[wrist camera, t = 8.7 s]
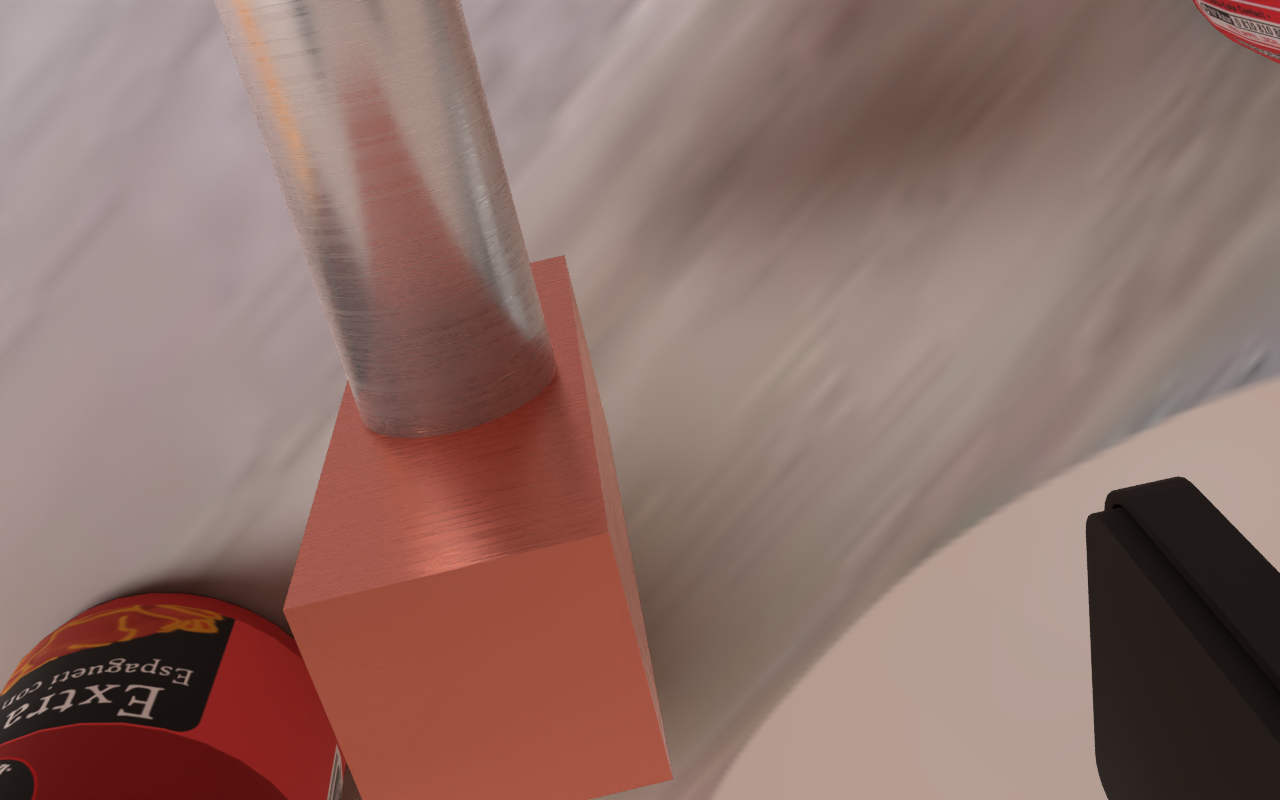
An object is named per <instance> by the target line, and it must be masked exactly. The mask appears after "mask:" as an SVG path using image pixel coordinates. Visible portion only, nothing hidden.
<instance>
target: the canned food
mask: <svg viewBox="0 0 1280 800" xmlns="http://www.w3.org/2000/svg"><path fill="white" fill-rule="evenodd" d="M345 767H346V760H345V757H344V755H343V753H342V750H341V748H340V745H339V743H338V741H337V738H336V736H335V734H334V731H333V729H332V726H331V724H330V722H329V719H328V717H327V714H326V712H325V710H324V707H323V705H322V703H321V700H320V698H319V695H318V693H317V691H316V688H315V686H314V683H313V681H312V679H311V676H310V674H309V672H308V669H307V667H306V664H305V662H304V660H303V657H302V655H301V652H300V650H299V648H298V645H297V643H296V641H295V639H293V638H292V637H291V636H289V635H288V634H287V633H286V632H284V631H283V630H282V629H280V628H279V627H278V626H277V625H275V624H274V623H272V622H270V621H268V620H266V619H264V618H262V617H260V616H259V615H257V614H255V613H253V612H251V611H249V610H247V609H245V608H242V607H239V606H236V605H233V604H230V603H227V602H224V601H221V600H218V599H214V598H208V597H202V596H196V595H190V594H184V593H148V594H142V595H136V596H130V597H124V598H118V599H115V600H112V601H110V602H107V603H104V604H101V605H98V606H96V607H93V608H90V609H88V610H86V611H85V612H83V613H81V614H80V615H78V616H76V617H75V618H73V619H72V620H70V621H68V622H67V623H65V624H63V625H62V626H61V627H59V628H58V629H56V630H55V631H54V632H52V633H51V634H49V635H48V636H47V637H45V638H44V639H43V640H42V641H41V642H40V643H39V644H38V645H36V646H35V647H34V648H33V649H32V650H31V651H30V652H29V653H28V654H27V655H26V656H25V657H24V658H23V659H22V660H21V662H20V663H19V665H18V666H17V668H16V670H15V671H14V673H13V674H12V676H11V678H10V679H9V681H8V682H7V684H6V686H5V687H4V689H3V691H2V692H1V694H0V800H340V799H341V792H342V786H343V780H344V774H345Z"/></svg>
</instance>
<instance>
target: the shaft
mask: <svg viewBox="0 0 1280 800" xmlns="http://www.w3.org/2000/svg"><path fill="white" fill-rule="evenodd" d="M214 2H215V5H216V7H217V10H218V13H219V16H220V19H221V22H222V24H223V27H224V30H225V33H226V36H227V39H228V41H229V44H230V47H231V50H232V53H233V56H234V58H235V61H236V64H237V67H238V70H239V73H240V76H241V78H242V81H243V84H244V87H245V90H246V93H247V95H248V98H249V101H250V104H251V107H252V110H253V112H254V115H255V118H256V121H257V124H258V127H259V129H260V132H261V135H262V138H263V141H264V144H265V146H266V149H267V152H268V155H269V158H270V161H271V163H272V166H273V169H274V172H275V175H276V178H277V180H278V183H279V186H280V189H281V192H282V195H283V197H284V200H285V203H286V206H287V209H288V212H289V214H290V217H291V220H292V223H293V226H294V229H295V231H296V234H297V237H298V240H299V243H300V246H301V248H302V251H303V254H304V257H305V260H306V263H307V265H308V268H309V271H310V274H311V277H312V280H313V282H314V285H315V288H316V291H317V294H318V297H319V299H320V302H321V305H322V308H323V311H324V314H325V317H326V319H327V322H328V325H329V328H330V331H331V334H332V336H333V339H334V342H335V345H336V348H337V351H338V353H339V356H340V359H341V362H342V365H343V368H344V370H345V373H346V376H347V379H348V381H347V385H346V388H345V392H344V395H343V399H342V402H341V406H340V409H339V413H338V416H337V420H336V423H335V427H334V431H333V434H332V438H331V441H330V445H329V448H328V452H327V455H326V459H325V462H324V466H323V469H322V473H321V477H320V480H319V484H318V487H317V491H316V494H315V498H314V501H313V505H312V508H311V512H310V515H309V519H308V523H307V526H306V530H305V533H304V537H303V540H302V544H301V547H300V551H299V554H298V558H297V561H296V565H295V569H294V572H293V576H292V579H291V583H290V586H289V590H288V593H287V597H286V600H285V604H284V607H283V612H284V614H285V617H286V619H287V621H288V624H289V626H290V629H291V631H292V633H293V636H294V638H295V641H296V643H297V645H298V648H299V650H300V652H301V655H302V657H303V660H304V662H305V664H306V667H307V669H308V672H309V674H310V676H311V679H312V681H313V683H314V686H315V688H316V691H317V693H318V695H319V698H320V700H321V703H322V705H323V707H324V710H325V712H326V714H327V717H328V719H329V722H330V724H331V726H332V729H333V731H334V734H335V736H336V738H337V741H338V743H339V745H340V748H341V750H342V753H343V755H344V757H345V760H346V762H347V765H348V767H349V769H350V772H351V774H352V776H353V779H354V781H355V784H356V786H357V788H358V791H359V793H360V795H361V798H362V800H589V799H593V798H597V797H601V796H605V795H610V794H614V793H618V792H622V791H626V790H630V789H635V788H639V787H643V786H647V785H651V784H655V783H660V782H664V781H668V780H672V779H673V776H672V770H671V765H670V760H669V754H668V749H667V743H666V738H665V733H664V727H663V722H662V717H661V711H660V706H659V701H658V695H657V690H656V685H655V679H654V674H653V668H652V663H651V658H650V652H649V647H648V642H647V636H646V631H645V626H644V620H643V615H642V610H641V604H640V599H639V593H638V588H637V583H636V577H635V572H634V567H633V561H632V556H631V551H630V545H629V540H628V535H627V529H626V524H625V518H624V513H623V508H622V502H621V497H620V492H619V486H618V481H617V476H616V470H615V465H614V460H613V454H612V449H611V443H610V438H609V433H608V428H607V424H606V420H605V416H604V412H603V408H602V404H601V400H600V396H599V392H598V388H597V384H596V380H595V376H594V372H593V368H592V364H591V360H590V356H589V352H588V348H587V344H586V340H585V336H584V332H583V328H582V324H581V320H580V316H579V312H578V308H577V304H576V300H575V296H574V292H573V288H572V284H571V280H570V276H569V272H568V268H567V264H566V260H565V256H564V255H563V256H559V257H555V258H551V259H546V260H542V261H538V262H534V263H530V262H529V258H528V255H527V251H526V247H525V243H524V239H523V236H522V232H521V228H520V224H519V221H518V217H517V213H516V209H515V205H514V202H513V198H512V194H511V190H510V187H509V183H508V179H507V175H506V171H505V168H504V164H503V160H502V156H501V153H500V149H499V145H498V141H497V137H496V134H495V130H494V126H493V122H492V119H491V115H490V111H489V107H488V103H487V100H486V96H485V92H484V88H483V85H482V81H481V77H480V73H479V69H478V66H477V62H476V58H475V54H474V51H473V47H472V43H471V39H470V35H469V32H468V28H467V24H466V20H465V17H464V13H463V9H462V5H461V1H460V0H214Z"/></svg>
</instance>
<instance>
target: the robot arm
mask: <svg viewBox="0 0 1280 800" xmlns="http://www.w3.org/2000/svg"><path fill="white" fill-rule="evenodd" d="M1086 546H1087V570H1088V593H1089V617H1090V638H1091V664H1092V687H1093V710H1094V733H1095V755H1096V763H1097V768H1098V773H1099V776H1100V779H1101V783H1102V786H1103V788H1104V791H1105V793H1106V795H1107V798H1108V799H1109V800H1280V573H1279V572H1278V571H1277V570H1276V569H1275V568H1274V567H1273V566H1272V565H1271V564H1270V563H1269V562H1268V561H1267V560H1266V559H1265V558H1264V556H1263V555H1261V553H1260V552H1259V551H1258V550H1257V549H1256V548H1255V547H1254V546H1253V545H1252V544H1251V543H1250V542H1249V541H1248V540H1247V539H1246V538H1245V537H1244V536H1243V535H1242V534H1241V533H1240V532H1239V531H1238V530H1237V529H1236V528H1235V527H1234V526H1233V525H1232V524H1231V523H1230V522H1229V521H1228V520H1227V519H1226V518H1225V517H1224V515H1223V514H1221V512H1220V511H1219V510H1218V509H1217V508H1216V507H1215V506H1214V505H1213V504H1212V503H1211V502H1210V501H1209V500H1208V499H1207V498H1206V497H1205V496H1204V495H1203V494H1202V493H1201V492H1200V491H1199V490H1198V489H1197V488H1196V487H1195V486H1194V485H1193V484H1192V483H1191V482H1190V481H1188V480H1187V479H1186V478H1183V477H1173V478H1169V479H1164V480H1160V481H1155V482H1150V483H1146V484H1141V485H1136V486H1132V487H1128V488H1123V489H1118V490H1114V491H1111V492H1110V493H1109V494H1108V495H1107V498H1106V501H1105V510H1104V511H1103V512H1097V513H1093V514H1091V515H1089V516H1088V519H1087V522H1086Z"/></svg>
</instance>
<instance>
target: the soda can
mask: <svg viewBox="0 0 1280 800" xmlns="http://www.w3.org/2000/svg"><path fill="white" fill-rule="evenodd" d="M1193 2H1194V3H1195V5H1196V7H1197V8H1198V10H1199V11H1200V12H1201V13H1202V14H1203V15H1204V16H1205V17H1206V19H1207V20H1208V21H1209V22H1210V23H1211V24H1212V25H1213V27H1215V28H1216V29H1217V30H1219V31H1220V32H1221V33H1223V34H1224V35H1225V36H1227V37H1228V38H1229V39H1231V40H1232V41H1234V42H1236V43H1238V44H1240V45H1242V46H1244V47H1246V48H1248V49H1250V50H1252V51H1254V52H1256V53H1258V54H1261V55H1263V56H1265V57H1267V58H1269V59H1271V60H1273V61H1275V62H1277V63H1279V64H1280V0H1193Z"/></svg>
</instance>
